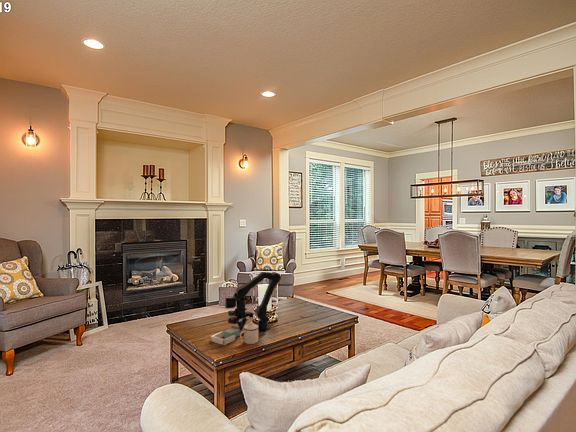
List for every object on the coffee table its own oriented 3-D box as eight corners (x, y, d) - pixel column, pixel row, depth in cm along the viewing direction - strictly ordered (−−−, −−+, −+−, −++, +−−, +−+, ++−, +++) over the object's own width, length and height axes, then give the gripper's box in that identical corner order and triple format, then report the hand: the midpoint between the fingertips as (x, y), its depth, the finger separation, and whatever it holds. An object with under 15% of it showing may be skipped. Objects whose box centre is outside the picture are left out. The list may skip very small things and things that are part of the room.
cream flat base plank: (222, 336, 209) (222, 331, 209) (235, 339, 203) (235, 335, 203) (210, 341, 201) (210, 336, 201) (224, 345, 195) (224, 340, 195)
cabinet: (232, 333, 214) (232, 325, 213) (239, 335, 210) (239, 327, 210) (223, 337, 207) (223, 329, 207) (231, 339, 204) (231, 331, 204)
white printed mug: (254, 337, 206) (254, 319, 206) (261, 342, 199) (261, 323, 199) (236, 341, 200) (236, 322, 200) (243, 346, 192) (243, 326, 192)
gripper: (241, 301, 228) (241, 324, 228) (221, 308, 212) (221, 332, 212) (253, 304, 222) (253, 327, 222) (234, 311, 206) (234, 336, 206)
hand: (241, 330), depth 216 cm, fingers closed
